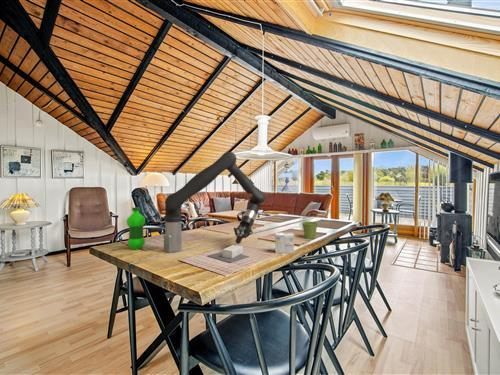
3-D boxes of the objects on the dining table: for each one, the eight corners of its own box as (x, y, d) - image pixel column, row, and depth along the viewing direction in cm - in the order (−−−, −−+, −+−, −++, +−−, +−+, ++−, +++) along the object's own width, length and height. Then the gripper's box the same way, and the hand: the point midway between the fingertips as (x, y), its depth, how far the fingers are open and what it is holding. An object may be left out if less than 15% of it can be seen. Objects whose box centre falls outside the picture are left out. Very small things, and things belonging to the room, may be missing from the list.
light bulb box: (293, 250, 149) (293, 232, 149) (294, 253, 142) (294, 234, 142) (275, 250, 150) (275, 232, 150) (275, 253, 143) (275, 234, 143)
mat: (230, 263, 125) (230, 262, 125) (207, 256, 137) (207, 255, 137) (249, 256, 136) (249, 256, 136) (225, 251, 148) (225, 250, 148)
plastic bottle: (146, 248, 154) (146, 207, 154) (127, 251, 148) (127, 208, 148) (144, 245, 162) (143, 206, 162) (125, 247, 157) (125, 207, 156)
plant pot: (299, 236, 189) (299, 221, 189) (314, 236, 190) (314, 221, 190) (304, 240, 177) (304, 224, 177) (320, 239, 178) (320, 223, 178)
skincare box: (233, 252, 145) (222, 257, 134) (233, 244, 144) (222, 249, 134) (242, 253, 142) (232, 258, 131) (242, 245, 142) (232, 250, 131)
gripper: (236, 214, 154) (225, 238, 144) (255, 215, 148) (244, 240, 137) (241, 222, 159) (230, 245, 149) (260, 223, 152) (249, 248, 142)
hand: (237, 243), depth 143 cm, fingers closed
